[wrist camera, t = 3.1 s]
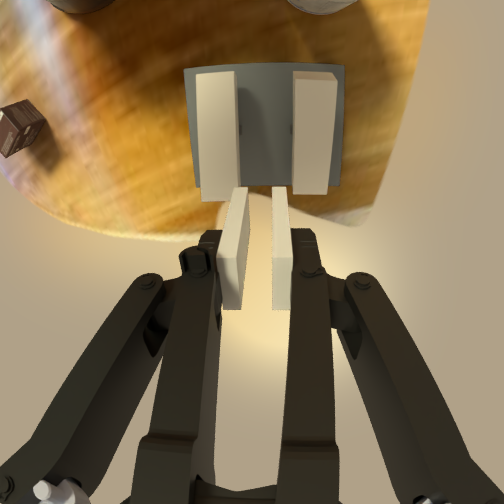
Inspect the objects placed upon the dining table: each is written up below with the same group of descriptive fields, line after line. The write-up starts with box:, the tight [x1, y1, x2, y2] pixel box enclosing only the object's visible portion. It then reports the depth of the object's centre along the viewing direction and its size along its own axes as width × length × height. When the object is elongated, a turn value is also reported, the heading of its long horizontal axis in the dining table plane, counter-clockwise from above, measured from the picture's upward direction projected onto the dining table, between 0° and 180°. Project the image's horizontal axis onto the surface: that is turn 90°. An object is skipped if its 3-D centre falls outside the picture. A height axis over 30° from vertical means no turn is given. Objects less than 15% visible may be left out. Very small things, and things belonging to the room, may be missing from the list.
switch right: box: [292, 71, 338, 195], centre depth 32 cm, size 4×14×3 cm, turn 3°
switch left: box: [196, 71, 241, 202], centre depth 32 cm, size 4×14×3 cm, turn 3°
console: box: [184, 62, 345, 188], centre depth 37 cm, size 19×16×7 cm
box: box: [0, 99, 45, 158], centre depth 36 cm, size 6×6×7 cm
